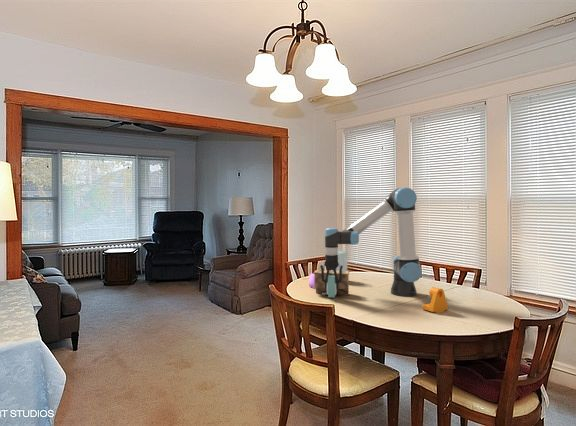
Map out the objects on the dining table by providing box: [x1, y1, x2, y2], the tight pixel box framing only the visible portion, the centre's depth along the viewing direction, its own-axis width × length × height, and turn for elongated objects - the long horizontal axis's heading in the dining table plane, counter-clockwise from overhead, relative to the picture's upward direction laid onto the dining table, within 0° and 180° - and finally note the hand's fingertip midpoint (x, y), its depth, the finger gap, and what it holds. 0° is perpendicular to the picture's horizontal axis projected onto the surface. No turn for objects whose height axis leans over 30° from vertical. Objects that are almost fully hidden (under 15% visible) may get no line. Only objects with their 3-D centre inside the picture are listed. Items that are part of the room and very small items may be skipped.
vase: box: [330, 249, 348, 271], centre depth 266 cm, size 12×12×22 cm
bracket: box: [422, 286, 448, 314], centre depth 193 cm, size 11×7×12 cm, turn 117°
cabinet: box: [313, 269, 350, 295], centre depth 228 cm, size 21×8×14 cm, turn 77°
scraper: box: [327, 276, 336, 298], centre depth 222 cm, size 4×11×12 cm, turn 167°
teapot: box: [308, 273, 315, 289], centre depth 247 cm, size 18×10×10 cm, turn 33°
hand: (331, 293), depth 219 cm, fingers closed on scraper, 4 cm apart
